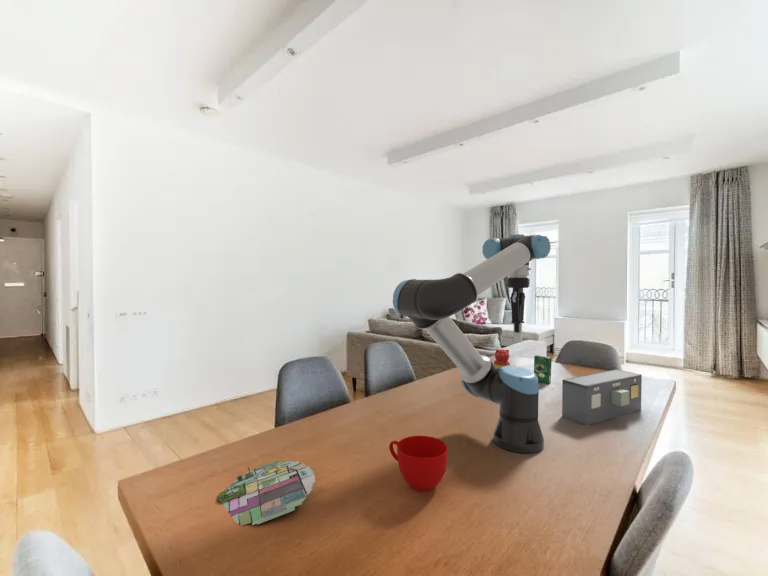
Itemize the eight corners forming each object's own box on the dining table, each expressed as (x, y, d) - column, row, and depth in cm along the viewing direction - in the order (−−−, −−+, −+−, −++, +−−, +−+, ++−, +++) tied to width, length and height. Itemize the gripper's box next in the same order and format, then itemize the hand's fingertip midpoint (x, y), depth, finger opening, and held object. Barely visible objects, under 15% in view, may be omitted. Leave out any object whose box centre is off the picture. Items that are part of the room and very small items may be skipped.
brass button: (638, 396, 149) (638, 384, 149) (630, 398, 147) (630, 386, 147) (622, 392, 154) (622, 380, 154) (615, 394, 152) (615, 382, 152)
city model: (198, 502, 93) (195, 479, 92) (283, 458, 109) (280, 439, 108) (244, 557, 75) (240, 529, 74) (336, 495, 92) (334, 472, 91)
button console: (641, 409, 150) (642, 374, 150) (587, 425, 135) (588, 386, 134) (615, 402, 159) (616, 369, 159) (562, 416, 144) (562, 379, 143)
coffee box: (551, 383, 188) (552, 357, 187) (549, 384, 186) (549, 358, 185) (535, 380, 194) (536, 354, 193) (533, 381, 192) (533, 355, 191)
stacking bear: (510, 382, 189) (510, 347, 189) (515, 388, 179) (515, 351, 179) (488, 382, 190) (488, 347, 190) (492, 388, 180) (492, 351, 180)
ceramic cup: (404, 462, 108) (404, 427, 108) (457, 482, 97) (457, 444, 97) (374, 481, 98) (374, 443, 98) (430, 506, 87) (430, 463, 87)
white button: (600, 406, 138) (600, 393, 138) (591, 408, 136) (592, 395, 135) (585, 401, 143) (585, 388, 143) (576, 404, 141) (576, 390, 141)
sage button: (629, 404, 141) (629, 390, 140) (621, 406, 138) (621, 392, 138) (613, 399, 146) (613, 386, 146) (605, 401, 144) (605, 388, 143)
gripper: (524, 277, 131) (524, 344, 132) (532, 277, 142) (531, 339, 143) (503, 277, 135) (502, 342, 136) (512, 277, 146) (511, 337, 147)
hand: (517, 340), depth 139 cm, fingers closed
